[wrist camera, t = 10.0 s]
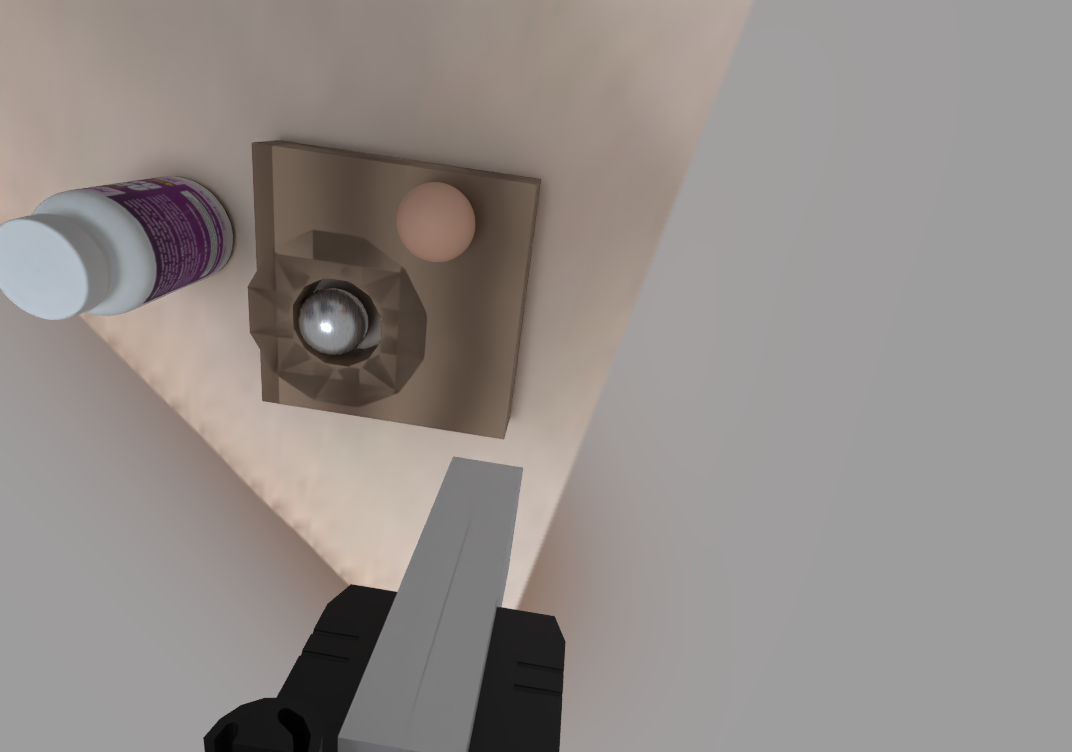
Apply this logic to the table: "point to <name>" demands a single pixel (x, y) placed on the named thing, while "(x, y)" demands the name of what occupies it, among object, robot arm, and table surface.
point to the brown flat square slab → (389, 288)
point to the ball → (333, 321)
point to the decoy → (435, 222)
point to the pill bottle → (113, 247)
